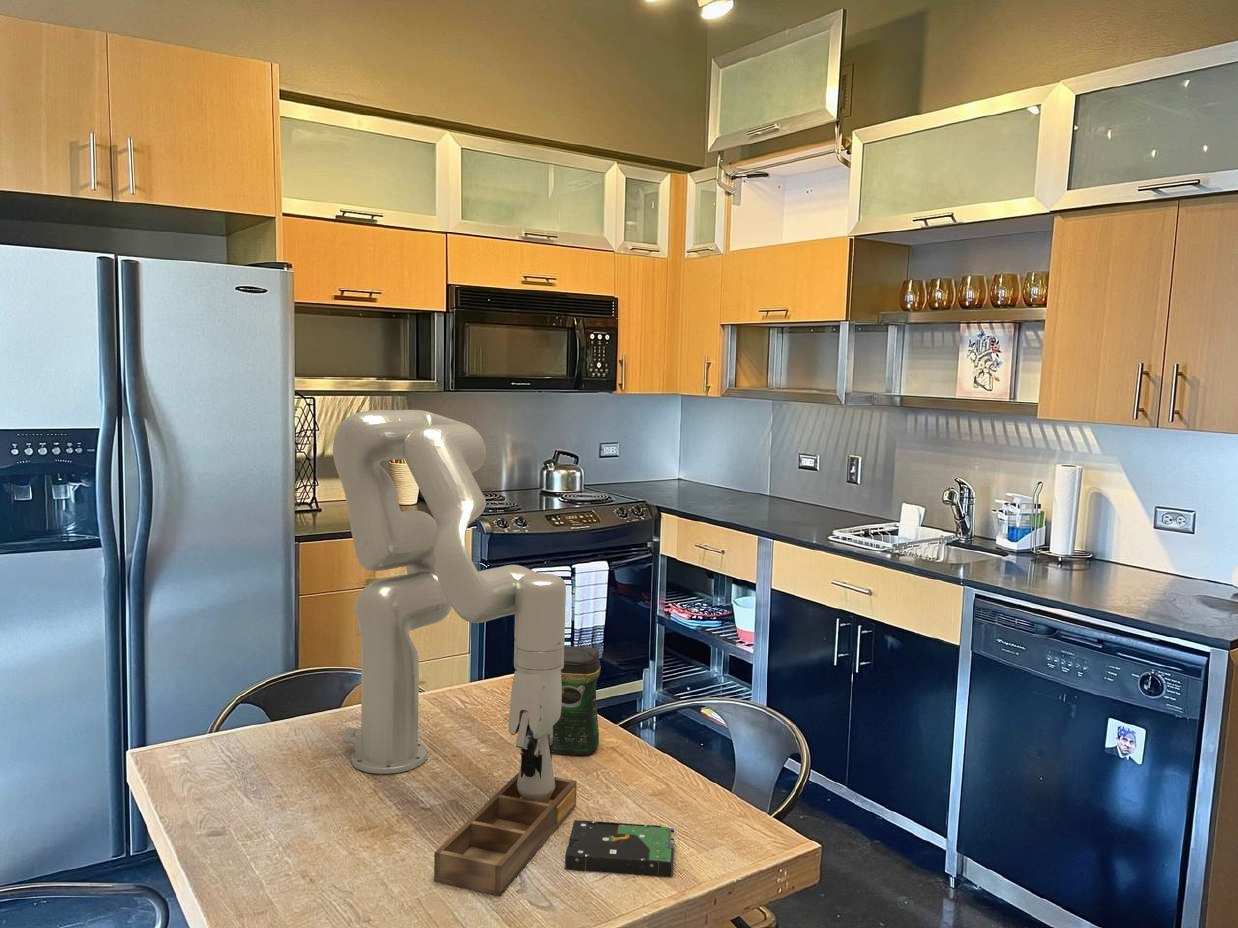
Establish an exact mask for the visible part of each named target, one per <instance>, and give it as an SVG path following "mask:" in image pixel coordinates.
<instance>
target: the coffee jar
mask: <svg viewBox="0 0 1238 928" xmlns="http://www.w3.org/2000/svg"><path fill="white" fill-rule="evenodd" d="M600 675H601V661H600V653H599V649H598V648H597V647H585V646H584V647H583V646H570V645H564V667H563V669H561V681H562V705H561V715H560V718H559V720H558V721H557V722H556V723H555V724H554V729H553V742H552V744H551V746H552V753H558V754H563V755H564V754H566V755H579V756H580V755H589V754H591V753H592V752H595V751H596V750H597V749H598V747H599V744H600V741H599V740H600V737H599V735H600V731H599V730H600V729H599V720H598V718H599V717H598V709H597V706H598V705H597V681H598V679H599V677H600ZM549 745H550V744H549Z"/></svg>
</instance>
